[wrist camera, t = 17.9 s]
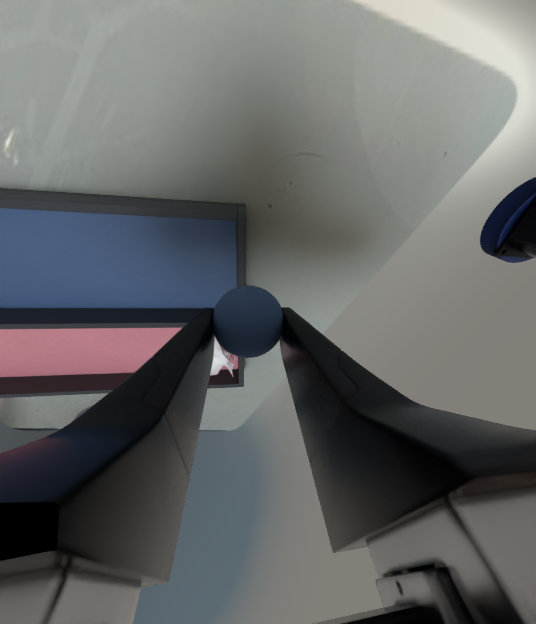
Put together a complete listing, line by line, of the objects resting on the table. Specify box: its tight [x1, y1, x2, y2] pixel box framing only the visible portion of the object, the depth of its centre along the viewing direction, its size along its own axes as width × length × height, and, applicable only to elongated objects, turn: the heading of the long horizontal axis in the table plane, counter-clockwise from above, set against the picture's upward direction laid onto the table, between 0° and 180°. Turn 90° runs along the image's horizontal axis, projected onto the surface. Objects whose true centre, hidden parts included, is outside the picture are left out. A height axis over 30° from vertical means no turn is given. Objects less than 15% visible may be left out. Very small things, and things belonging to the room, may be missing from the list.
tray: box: [0, 188, 246, 398], centre depth 19 cm, size 32×20×3 cm, turn 86°
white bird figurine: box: [210, 338, 235, 376], centre depth 23 cm, size 8×5×5 cm, turn 172°
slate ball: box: [213, 286, 283, 358], centre depth 9 cm, size 3×3×3 cm
